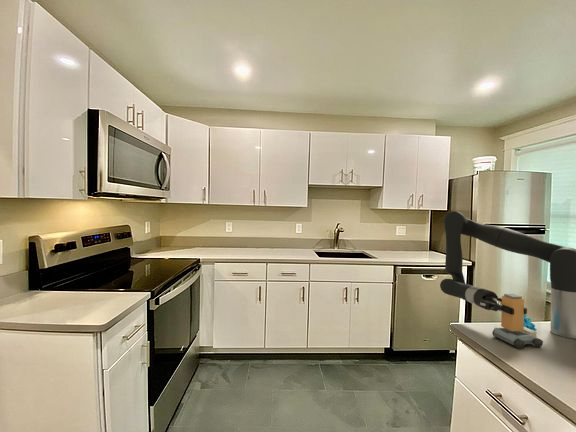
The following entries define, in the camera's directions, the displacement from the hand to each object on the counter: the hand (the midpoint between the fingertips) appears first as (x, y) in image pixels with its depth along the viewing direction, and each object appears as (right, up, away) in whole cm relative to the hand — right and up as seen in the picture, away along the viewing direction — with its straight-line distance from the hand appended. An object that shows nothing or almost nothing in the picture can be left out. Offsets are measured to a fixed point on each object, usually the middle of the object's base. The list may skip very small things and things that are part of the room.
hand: (519, 311), depth 102 cm
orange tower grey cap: (0, -7, +3) cm, 8 cm away
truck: (+1, -12, +3) cm, 12 cm away
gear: (+13, -12, +15) cm, 23 cm away
